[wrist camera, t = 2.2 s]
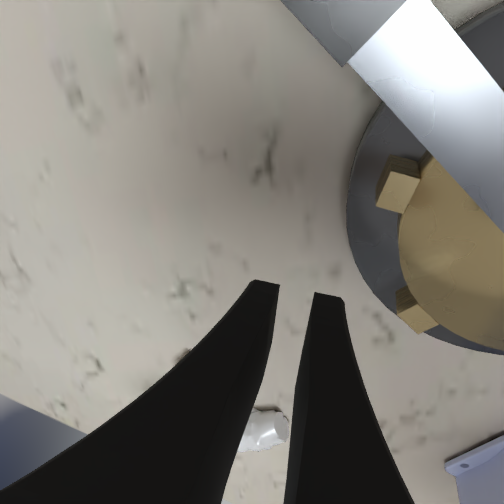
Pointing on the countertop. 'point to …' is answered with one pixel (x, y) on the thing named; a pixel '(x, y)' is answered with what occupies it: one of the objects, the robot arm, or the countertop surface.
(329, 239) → the countertop surface
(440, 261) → the brass turntable dial
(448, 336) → the disc
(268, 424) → the seated beast figurine
